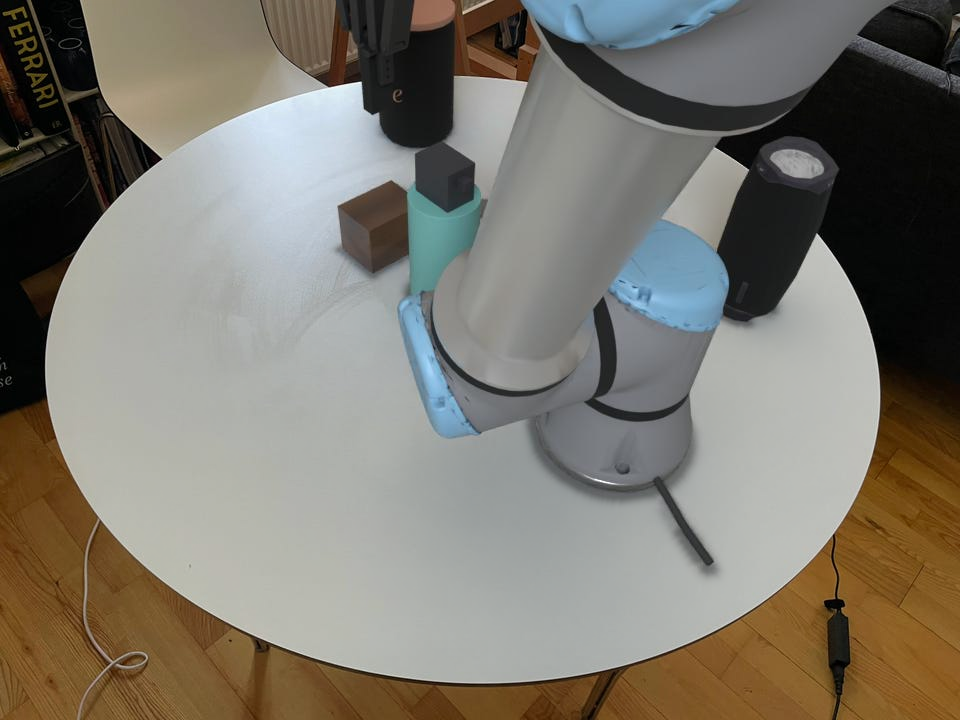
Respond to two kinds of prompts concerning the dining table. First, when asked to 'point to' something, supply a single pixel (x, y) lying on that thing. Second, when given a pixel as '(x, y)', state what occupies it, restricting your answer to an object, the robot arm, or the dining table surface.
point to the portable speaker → (774, 224)
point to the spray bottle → (440, 213)
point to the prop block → (376, 226)
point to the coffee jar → (423, 79)
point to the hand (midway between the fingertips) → (378, 107)
